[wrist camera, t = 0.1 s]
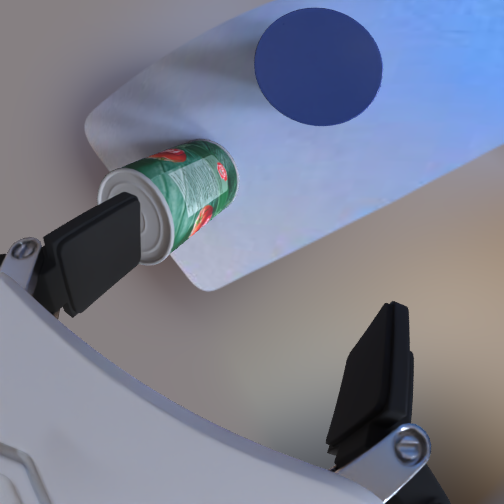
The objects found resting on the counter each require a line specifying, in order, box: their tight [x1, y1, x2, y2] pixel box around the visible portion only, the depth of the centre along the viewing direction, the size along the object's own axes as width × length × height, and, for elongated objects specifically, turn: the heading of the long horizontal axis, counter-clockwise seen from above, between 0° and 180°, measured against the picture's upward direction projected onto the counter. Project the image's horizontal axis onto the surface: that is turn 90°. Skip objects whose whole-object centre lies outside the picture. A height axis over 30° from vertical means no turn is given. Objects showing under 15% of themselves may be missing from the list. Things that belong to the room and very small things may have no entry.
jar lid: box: [254, 8, 383, 126], centre depth 13 cm, size 7×7×2 cm
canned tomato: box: [97, 139, 239, 265], centre depth 25 cm, size 8×8×11 cm
